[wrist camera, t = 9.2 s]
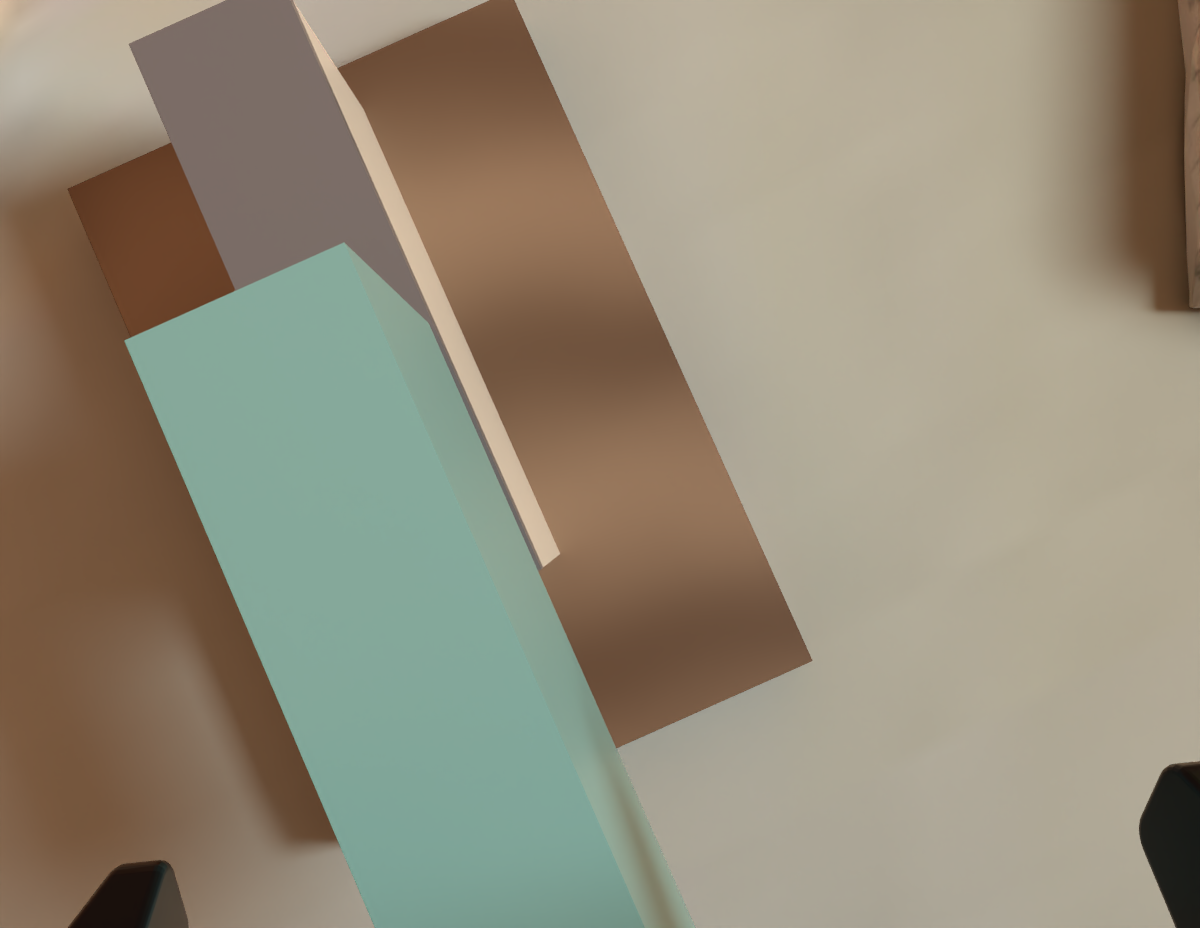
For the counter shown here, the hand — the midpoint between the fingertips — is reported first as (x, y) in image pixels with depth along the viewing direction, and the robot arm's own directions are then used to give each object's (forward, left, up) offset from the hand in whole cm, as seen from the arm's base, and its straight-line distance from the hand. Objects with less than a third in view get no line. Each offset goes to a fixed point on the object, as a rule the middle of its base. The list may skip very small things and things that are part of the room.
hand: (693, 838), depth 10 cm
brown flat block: (+5, +4, -13) cm, 15 cm away
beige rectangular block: (+6, +5, -12) cm, 14 cm away
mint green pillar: (+1, +3, -6) cm, 7 cm away
